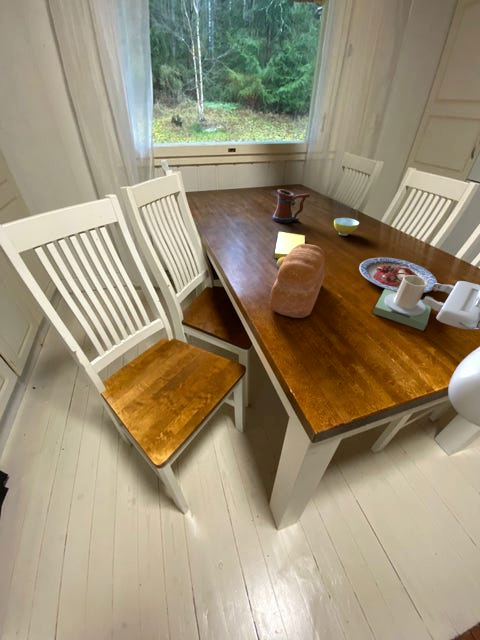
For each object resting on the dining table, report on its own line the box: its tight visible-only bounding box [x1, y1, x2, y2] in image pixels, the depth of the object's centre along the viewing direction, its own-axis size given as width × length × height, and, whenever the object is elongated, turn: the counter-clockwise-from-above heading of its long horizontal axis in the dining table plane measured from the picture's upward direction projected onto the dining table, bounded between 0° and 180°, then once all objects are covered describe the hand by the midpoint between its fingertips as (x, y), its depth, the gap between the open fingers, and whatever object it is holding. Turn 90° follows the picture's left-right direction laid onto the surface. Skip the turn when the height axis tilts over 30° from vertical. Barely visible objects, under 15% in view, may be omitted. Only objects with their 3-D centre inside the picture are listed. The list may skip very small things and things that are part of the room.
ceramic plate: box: [358, 257, 438, 294], centre depth 100 cm, size 26×26×3 cm
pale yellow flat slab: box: [274, 231, 306, 259], centre depth 121 cm, size 12×2×24 cm
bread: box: [269, 243, 326, 319], centre depth 86 cm, size 14×26×15 cm, turn 156°
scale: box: [372, 288, 432, 331], centre depth 84 cm, size 14×13×3 cm
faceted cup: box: [394, 275, 428, 309], centre depth 80 cm, size 6×6×8 cm
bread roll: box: [276, 257, 285, 269], centre depth 106 cm, size 8×9×4 cm
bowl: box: [333, 217, 360, 237], centre depth 132 cm, size 11×12×6 cm
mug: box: [272, 188, 311, 224], centre depth 145 cm, size 18×12×15 cm, turn 76°
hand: (428, 292), depth 77 cm, fingers open, 8 cm apart
